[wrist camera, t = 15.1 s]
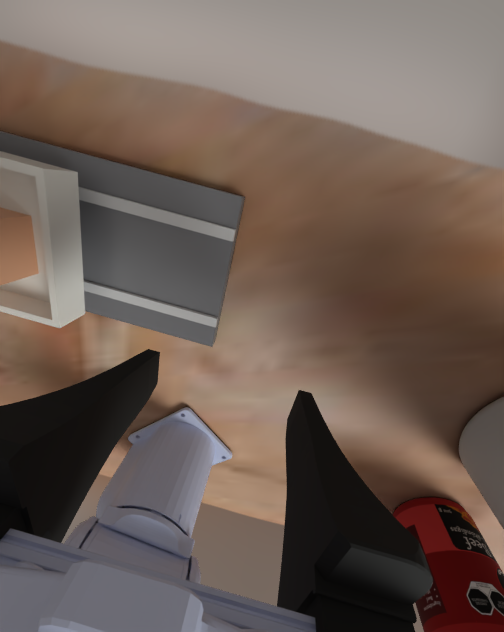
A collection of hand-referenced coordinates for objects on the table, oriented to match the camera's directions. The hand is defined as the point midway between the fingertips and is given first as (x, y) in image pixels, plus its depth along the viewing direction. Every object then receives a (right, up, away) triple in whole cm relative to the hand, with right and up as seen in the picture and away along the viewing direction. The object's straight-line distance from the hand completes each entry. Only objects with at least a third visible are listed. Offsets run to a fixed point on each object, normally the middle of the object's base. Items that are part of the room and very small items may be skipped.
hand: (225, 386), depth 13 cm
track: (-11, +9, +8) cm, 17 cm away
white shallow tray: (-15, +10, +6) cm, 19 cm away
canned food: (+21, -19, +16) cm, 33 cm away
